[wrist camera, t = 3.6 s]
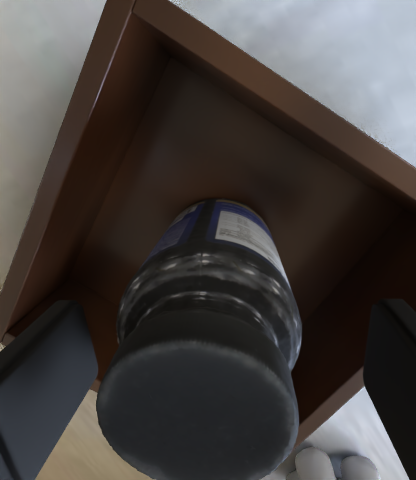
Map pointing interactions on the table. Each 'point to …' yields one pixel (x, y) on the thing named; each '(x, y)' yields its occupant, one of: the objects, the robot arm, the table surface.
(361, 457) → the toy rhinoceros
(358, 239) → the box
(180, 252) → the pill bottle
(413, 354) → the robot arm
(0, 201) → the table surface
